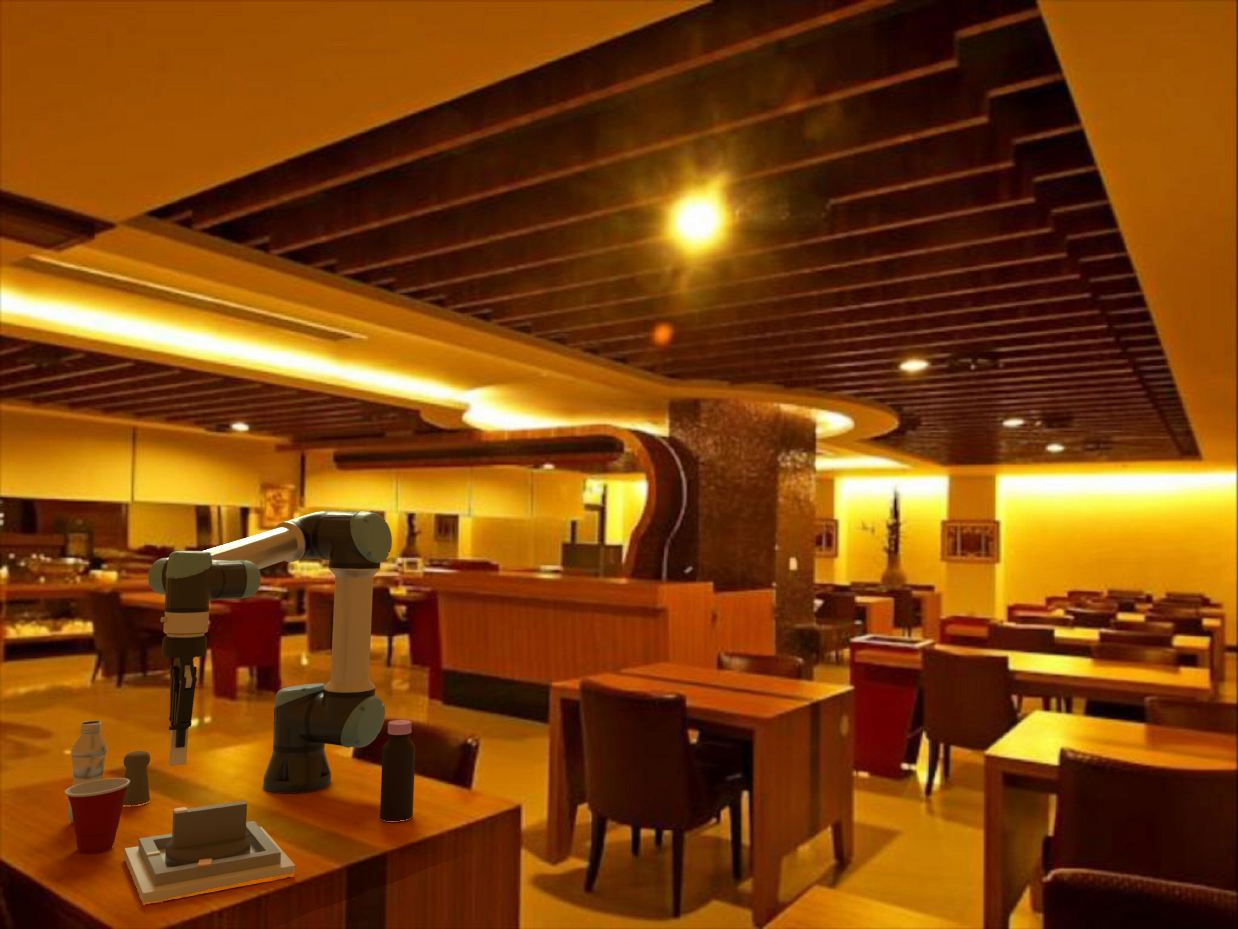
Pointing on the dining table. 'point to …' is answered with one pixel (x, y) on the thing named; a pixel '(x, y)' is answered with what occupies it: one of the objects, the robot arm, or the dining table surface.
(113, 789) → the plastic cup
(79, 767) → the plastic bottle
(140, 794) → the cork
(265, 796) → the dining table surface
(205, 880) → the panel
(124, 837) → the dining table surface
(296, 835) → the dining table surface
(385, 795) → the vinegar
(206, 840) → the oval knob with handle
